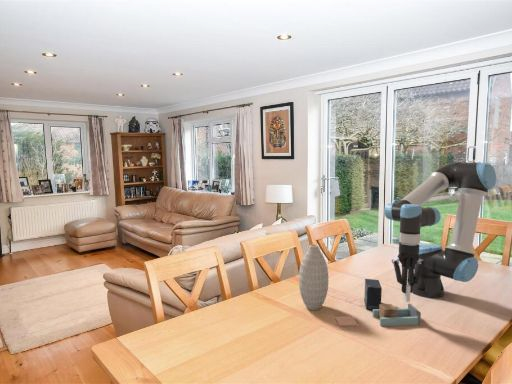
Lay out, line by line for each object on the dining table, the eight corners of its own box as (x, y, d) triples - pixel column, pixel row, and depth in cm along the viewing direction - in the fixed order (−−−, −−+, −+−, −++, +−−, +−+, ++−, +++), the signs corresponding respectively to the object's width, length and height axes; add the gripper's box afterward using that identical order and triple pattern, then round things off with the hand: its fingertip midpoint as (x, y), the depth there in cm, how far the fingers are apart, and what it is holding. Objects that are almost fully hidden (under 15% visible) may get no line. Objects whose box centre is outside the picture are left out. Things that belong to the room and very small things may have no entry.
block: (390, 317, 146) (391, 303, 146) (396, 323, 141) (396, 309, 141) (378, 318, 146) (379, 304, 145) (383, 324, 141) (384, 309, 140)
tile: (351, 317, 147) (351, 316, 146) (357, 326, 140) (357, 324, 140) (335, 318, 146) (335, 316, 146) (340, 326, 139) (340, 325, 139)
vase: (331, 304, 160) (331, 243, 157) (324, 316, 148) (324, 250, 145) (303, 299, 165) (304, 240, 162) (295, 310, 154) (295, 247, 151)
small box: (381, 311, 152) (382, 287, 151) (366, 310, 154) (366, 286, 153) (378, 301, 163) (379, 279, 162) (363, 300, 164) (364, 278, 163)
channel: (409, 315, 148) (410, 303, 148) (420, 324, 140) (420, 312, 139) (372, 316, 148) (372, 304, 147) (380, 326, 139) (381, 314, 139)
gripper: (420, 240, 145) (417, 296, 147) (389, 241, 144) (386, 296, 146) (430, 245, 137) (427, 303, 140) (397, 245, 137) (394, 304, 139)
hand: (406, 300), depth 143 cm, fingers closed
